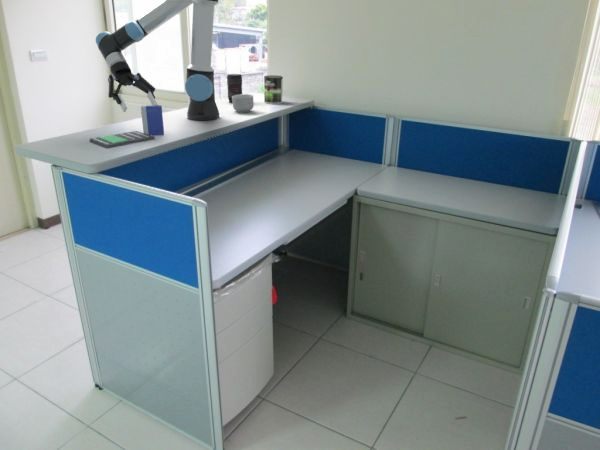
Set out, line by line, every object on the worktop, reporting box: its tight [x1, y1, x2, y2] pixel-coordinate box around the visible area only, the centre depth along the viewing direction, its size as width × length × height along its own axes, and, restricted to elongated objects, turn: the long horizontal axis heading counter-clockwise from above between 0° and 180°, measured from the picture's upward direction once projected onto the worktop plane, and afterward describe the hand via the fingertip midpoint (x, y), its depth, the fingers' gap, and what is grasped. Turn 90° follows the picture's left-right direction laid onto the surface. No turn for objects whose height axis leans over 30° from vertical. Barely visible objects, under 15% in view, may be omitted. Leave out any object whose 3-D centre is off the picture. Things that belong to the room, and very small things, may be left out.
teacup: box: [231, 93, 254, 114], centre depth 257 cm, size 14×11×8 cm
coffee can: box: [263, 74, 284, 105], centre depth 280 cm, size 10×10×14 cm
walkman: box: [140, 104, 165, 136], centre depth 206 cm, size 8×3×12 cm, turn 96°
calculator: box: [89, 130, 156, 149], centre depth 198 cm, size 20×14×1 cm
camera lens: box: [226, 73, 243, 104], centre depth 278 cm, size 8×8×15 cm
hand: (140, 108), depth 207 cm, fingers open, 13 cm apart
